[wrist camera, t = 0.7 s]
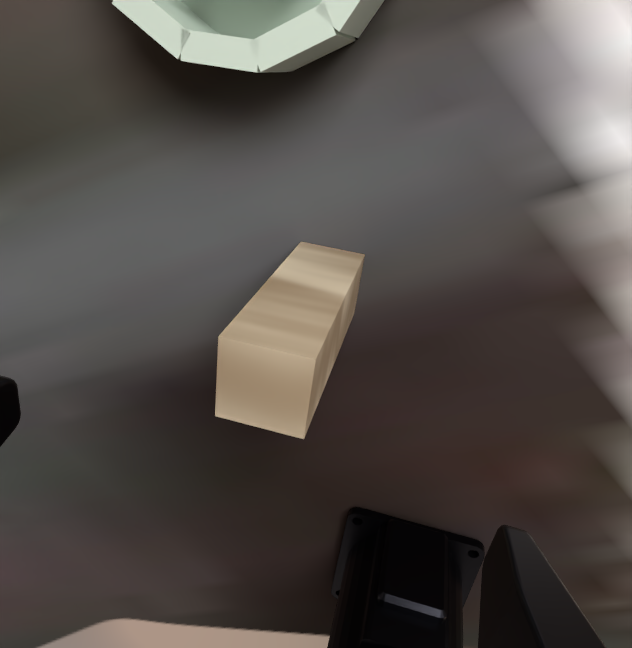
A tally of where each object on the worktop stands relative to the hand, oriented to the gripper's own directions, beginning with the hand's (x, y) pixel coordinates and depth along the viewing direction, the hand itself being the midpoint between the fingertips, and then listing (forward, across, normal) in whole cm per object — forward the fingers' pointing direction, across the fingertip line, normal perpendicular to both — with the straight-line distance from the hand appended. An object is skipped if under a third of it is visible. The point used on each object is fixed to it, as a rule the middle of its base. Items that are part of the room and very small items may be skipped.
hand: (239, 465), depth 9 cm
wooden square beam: (+12, +1, +1) cm, 12 cm away
